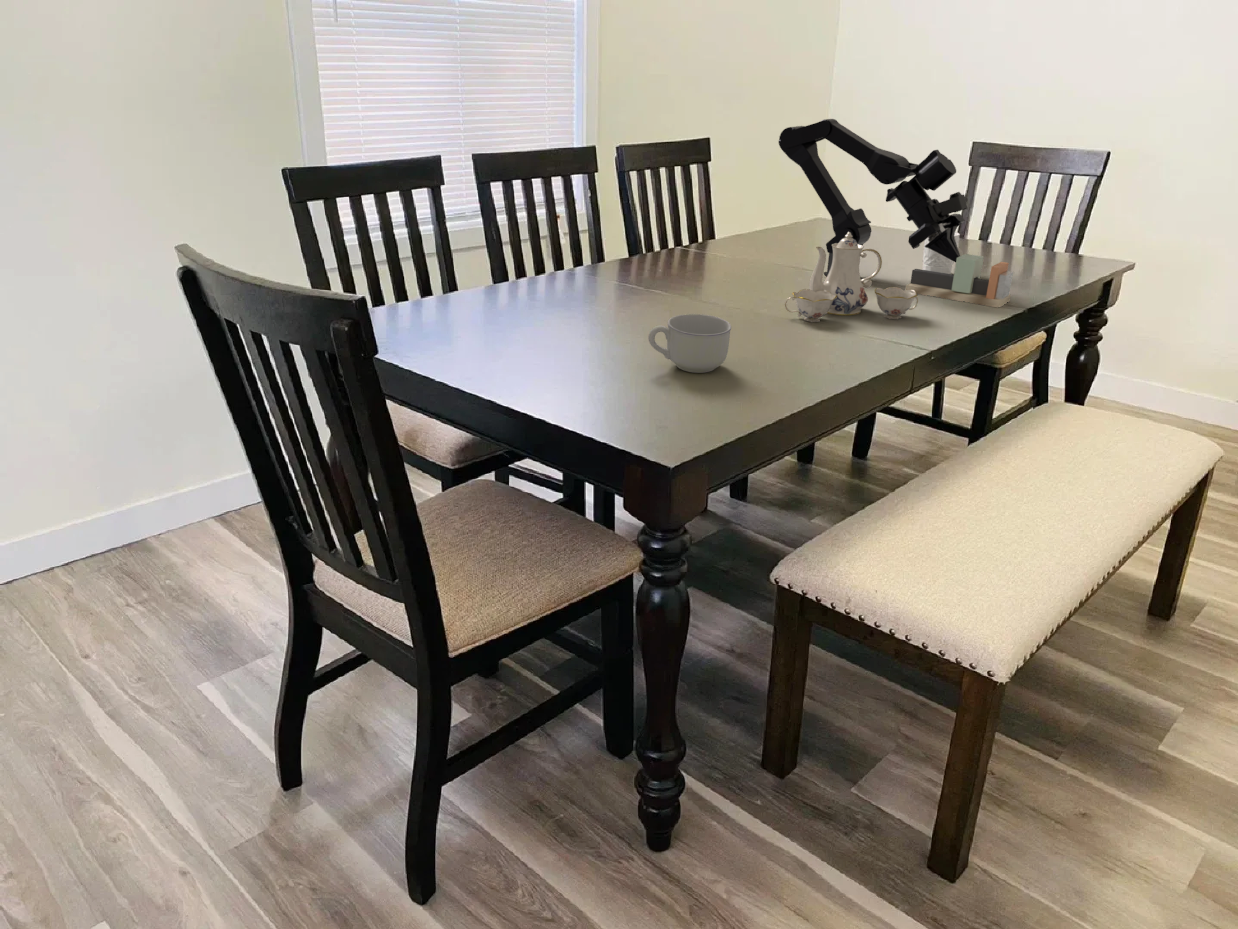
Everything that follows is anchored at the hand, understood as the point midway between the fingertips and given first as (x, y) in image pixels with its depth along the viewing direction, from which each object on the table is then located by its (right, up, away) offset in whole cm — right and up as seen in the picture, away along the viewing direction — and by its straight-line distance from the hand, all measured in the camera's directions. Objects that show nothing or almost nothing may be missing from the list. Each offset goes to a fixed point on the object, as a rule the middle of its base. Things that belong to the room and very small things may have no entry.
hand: (959, 261), depth 202 cm
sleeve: (+2, -6, +1) cm, 6 cm away
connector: (+8, -8, -3) cm, 12 cm away
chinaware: (-28, -14, -12) cm, 33 cm away
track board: (0, -7, +3) cm, 8 cm away
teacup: (-63, -28, -45) cm, 83 cm away
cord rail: (0, -6, +3) cm, 6 cm away
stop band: (+7, -8, -2) cm, 11 cm away
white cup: (+3, +2, +23) cm, 24 cm away
